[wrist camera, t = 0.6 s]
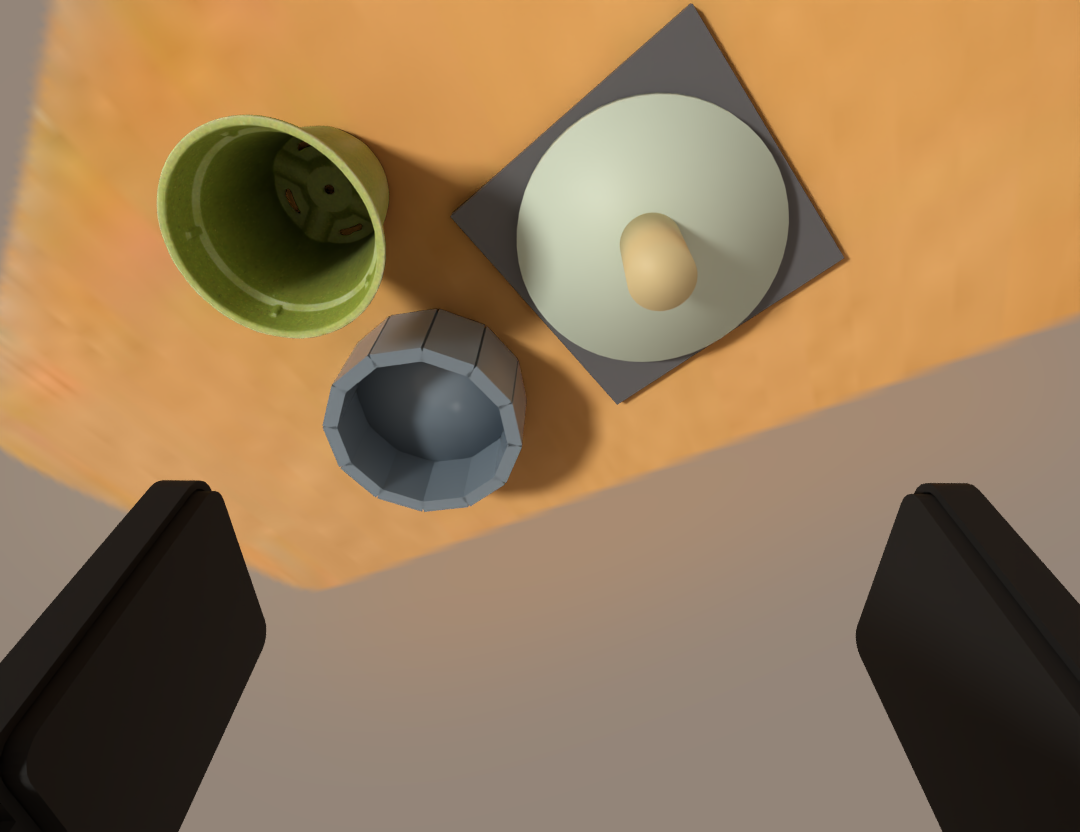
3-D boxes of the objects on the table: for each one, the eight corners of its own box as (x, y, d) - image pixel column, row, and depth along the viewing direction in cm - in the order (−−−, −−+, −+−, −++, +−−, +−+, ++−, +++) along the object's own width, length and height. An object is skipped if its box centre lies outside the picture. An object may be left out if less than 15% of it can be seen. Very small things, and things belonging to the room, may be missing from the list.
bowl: (438, 274, 37) (421, 310, 33) (559, 403, 42) (558, 449, 37) (314, 379, 41) (285, 423, 37) (436, 486, 46) (423, 536, 41)
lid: (688, 22, 30) (713, 28, 24) (831, 256, 35) (874, 300, 30) (463, 218, 35) (445, 256, 30) (619, 394, 40) (626, 452, 35)
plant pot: (370, 57, 31) (310, 77, 24) (450, 240, 36) (420, 303, 29) (208, 127, 33) (107, 166, 26) (304, 292, 38) (241, 363, 31)
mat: (690, 3, 30) (692, 3, 29) (840, 254, 36) (844, 257, 35) (452, 213, 35) (450, 216, 35) (616, 399, 41) (617, 404, 41)
